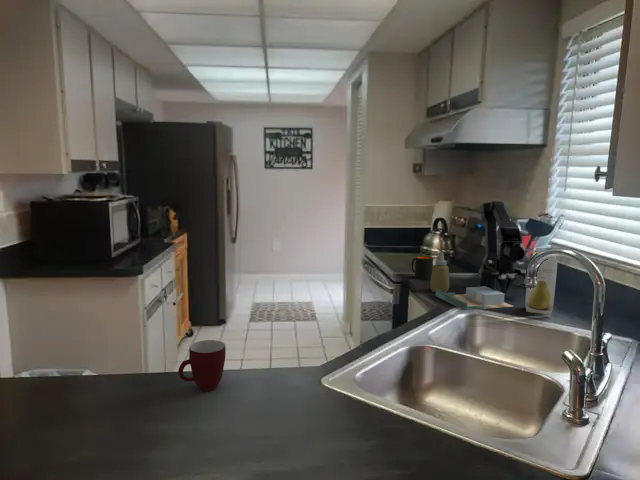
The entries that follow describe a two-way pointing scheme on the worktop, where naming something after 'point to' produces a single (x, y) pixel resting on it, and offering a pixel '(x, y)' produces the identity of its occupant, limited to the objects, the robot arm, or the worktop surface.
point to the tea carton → (485, 295)
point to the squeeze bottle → (440, 275)
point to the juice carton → (542, 289)
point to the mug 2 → (423, 267)
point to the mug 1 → (205, 364)
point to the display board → (466, 301)
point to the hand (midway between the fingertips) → (503, 294)
